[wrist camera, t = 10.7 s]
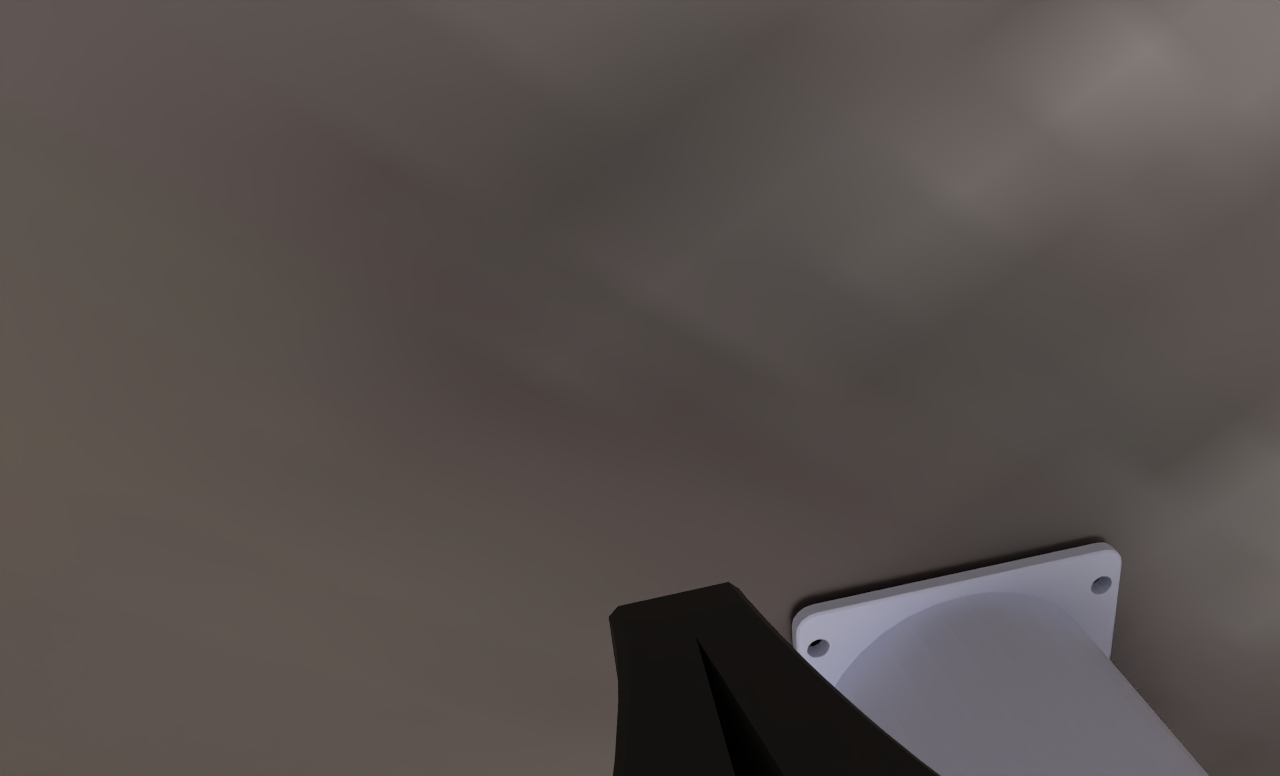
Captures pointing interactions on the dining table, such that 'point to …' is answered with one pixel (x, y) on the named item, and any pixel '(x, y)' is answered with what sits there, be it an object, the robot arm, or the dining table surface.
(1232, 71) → the dining table surface
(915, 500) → the dining table surface
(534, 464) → the dining table surface
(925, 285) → the dining table surface
